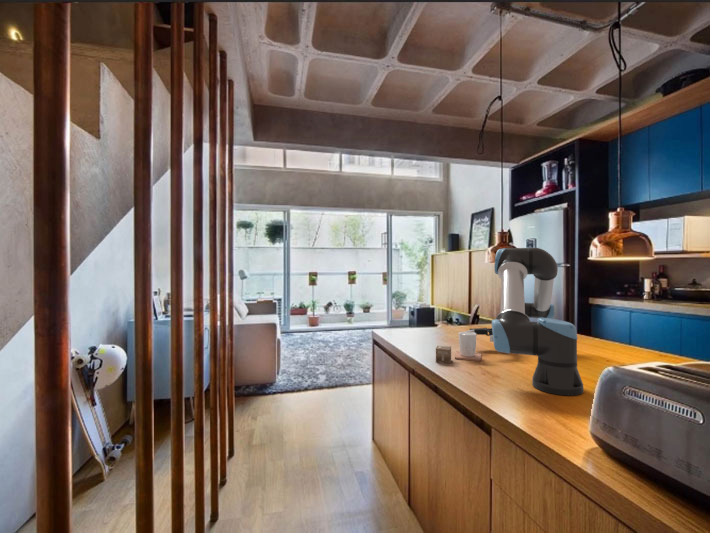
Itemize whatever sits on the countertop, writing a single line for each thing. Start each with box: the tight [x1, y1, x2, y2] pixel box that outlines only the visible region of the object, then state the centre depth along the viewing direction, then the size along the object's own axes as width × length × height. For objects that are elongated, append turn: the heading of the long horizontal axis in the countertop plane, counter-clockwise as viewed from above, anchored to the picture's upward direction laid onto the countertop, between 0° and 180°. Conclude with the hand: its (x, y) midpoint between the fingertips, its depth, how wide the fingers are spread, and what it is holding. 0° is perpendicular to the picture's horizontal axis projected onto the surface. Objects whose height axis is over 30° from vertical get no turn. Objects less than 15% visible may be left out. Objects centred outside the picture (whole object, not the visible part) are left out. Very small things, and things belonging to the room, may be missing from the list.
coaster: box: [454, 351, 482, 362], centre depth 159 cm, size 11×11×1 cm
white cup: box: [458, 331, 477, 357], centre depth 159 cm, size 8×8×10 cm
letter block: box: [435, 345, 452, 364], centre depth 153 cm, size 6×6×6 cm
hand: (477, 336), depth 163 cm, fingers open, 13 cm apart
